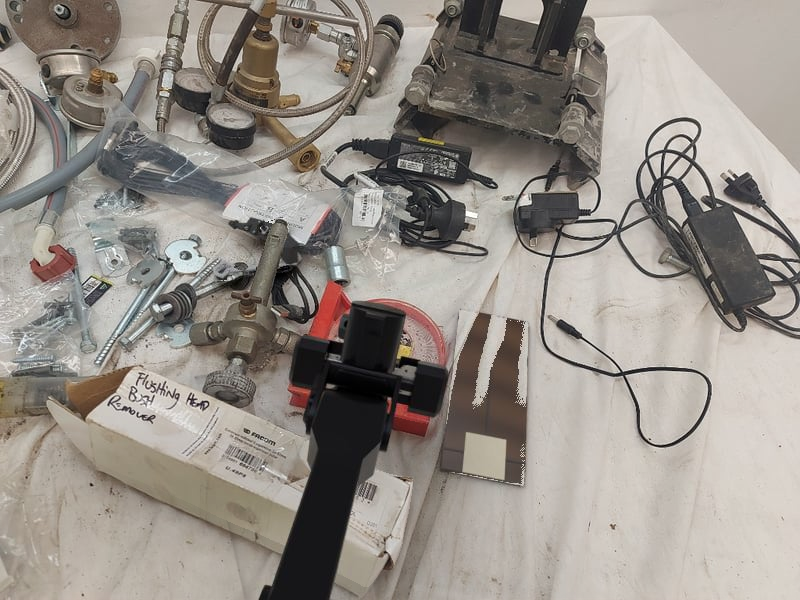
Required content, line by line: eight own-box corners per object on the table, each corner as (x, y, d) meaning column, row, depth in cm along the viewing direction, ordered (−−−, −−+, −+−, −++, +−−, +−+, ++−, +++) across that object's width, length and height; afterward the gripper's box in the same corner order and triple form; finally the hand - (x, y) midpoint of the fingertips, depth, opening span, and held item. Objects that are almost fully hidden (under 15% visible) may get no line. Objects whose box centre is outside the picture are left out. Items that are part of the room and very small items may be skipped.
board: (522, 487, 82) (525, 483, 81) (439, 470, 82) (441, 467, 81) (527, 325, 98) (529, 321, 97) (458, 312, 98) (459, 307, 97)
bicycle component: (214, 287, 93) (306, 273, 97) (208, 247, 89) (303, 235, 94) (209, 253, 102) (293, 243, 107) (203, 216, 99) (290, 206, 103)
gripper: (462, 341, 62) (455, 317, 77) (292, 303, 62) (319, 287, 77) (439, 438, 63) (437, 396, 79) (273, 401, 63) (303, 366, 79)
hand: (374, 359), depth 78 cm, fingers closed on two-way radio, 5 cm apart
